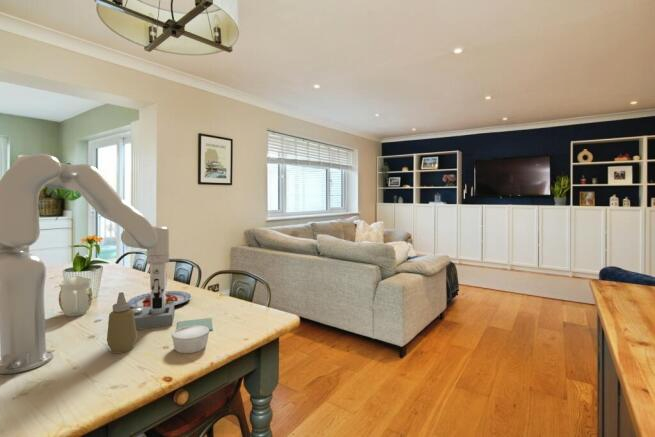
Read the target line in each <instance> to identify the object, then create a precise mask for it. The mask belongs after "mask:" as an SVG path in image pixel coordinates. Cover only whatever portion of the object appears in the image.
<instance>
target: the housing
mask: <svg viewBox="0 0 655 437" xmlns="http://www.w3.org/2000/svg"><path fill="white" fill-rule="evenodd" d="M134 318H135V325H136V330H141V329H149V328H157V327H158V328H160V327H169V326H173V323H174V319H175V305H170V306H165V313H163V314H153V315H151V307H148V308H143V312H141V313H140V314H135V315H134Z"/></svg>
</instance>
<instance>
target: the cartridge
mask: <svg viewBox="0 0 655 437" xmlns="http://www.w3.org/2000/svg"><path fill="white" fill-rule="evenodd" d="M158 289H160V288H158ZM165 291H166V289H164V290H163V289H161V297H162V308H157V309H153V308H152V298H153V291H152V290H151V291H150V293H151V315H153V314H163V313H165ZM158 292H160V291H158Z"/></svg>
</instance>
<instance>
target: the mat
mask: <svg viewBox="0 0 655 437" xmlns="http://www.w3.org/2000/svg"><path fill="white" fill-rule="evenodd" d="M193 325H200V326H206V327H208V328H209V332H210V331H214V330H213V329H214V328H213V319H212V317H208V318H198V319H189V320H178V322H177V327H176V330H177V329H179V328H182V327H186V326H193Z"/></svg>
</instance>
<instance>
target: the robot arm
mask: <svg viewBox="0 0 655 437" xmlns="http://www.w3.org/2000/svg"><path fill="white" fill-rule="evenodd" d="M44 187H45V188H50V189H59V190H64V191H65V190H66V191H71V192H72V191H74V192H78V194H80V195H81V197H82V198H83V199H84V200H85V201H86V202H87V204H89V205H90V206H91V207H92V208H93V210H94V211H95V212H96V213H97V214H99V215H100V216H101V217H102V218H104V219H106V220H108V221H110V222H113V223H115V224H116V225H117V226H119V227H121V228H122V229H123V231H122V232H121V234H120V241H121V242H122V244H124V245H125V246H127V247H130V248H134V249H142V250H146V264H147V265H150V266H149V268H150V269H149V281H150V282H149V283H150V290H151V291H153V298H152V308H153V309H157V308H162V297H161V289H163V290H166V289H167V284H168V274H167V272H168V271H167V263H170V252H169V251H170V248H169V247H170V244H169V243H170V239H169V238H170V237H169V236H170V232H169V228H168V227H167V226H163V225H162V226H161V225H159V226H158V225H157V226H153V225H152V224H151V223H150V222H149V220H147V218H146V216H144V215H143V214H142V213H141V212H139V211H138V210H137V209H135V208H134V207H133V206H132V205H131V204H130V203H128V202H127V201H125V200H124V198H122V196H120V194H119V193H118V192H117V191H116V190H115V188H114V187H113V186H112V185H111V184H110V183H109V181H108V180H107V179H106V177H104V175H103V174H102V173H101V172H100V170H99V169H97V168H96V167H95V166H93V165H90V164H85V163H83V164H82V163H81V164H68V163H63V162H60V161H59V159H58V158H57V157H55V156H53V155H51V154H48V153H41V152H40V153H33V154H29V155H23V156H20V157H19V158H16V160H15V161H14V162H13V163H12V166H11V167H9V168H8V169H7V170H6V171H5V173H4V174H3V175H2V177H1V178H0V374H1V375H2V374H3V375H5V374H6V375H7V374H17V373H21V372H26V371H29V370H33V369H36V368H38V367H41V366H43V365H45V364H48V363H49V361H51V360H52V359H53V358H54V352H53V351H52V350H50V349H47V346H46V345H47V344H46V315H45V314H46V312H45V283H46V277H47V270H46V266H45V262H43V260H42V259H41V258H40V257H38V256H37V255H35V254H32V253H30V247H31V246H32V245H34V244H35V243H36V242H37V241H38V239H39V237H40V234H41V230H40V212H39V199H40V194H41V191H42V190H43V188H44ZM158 288H160V289H158ZM158 291H160V292H158Z"/></svg>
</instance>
